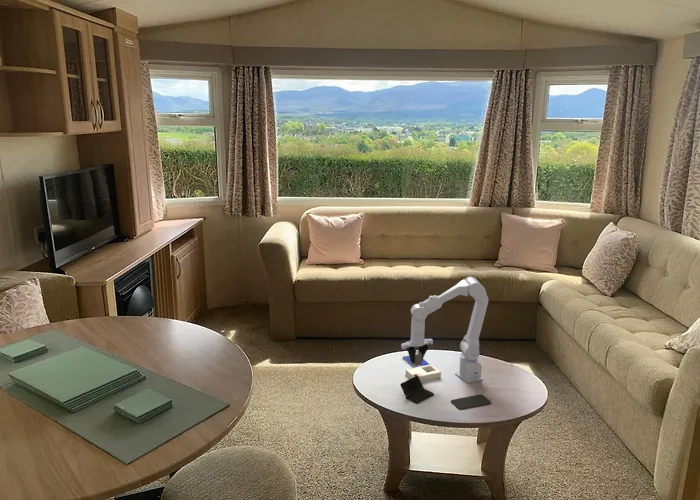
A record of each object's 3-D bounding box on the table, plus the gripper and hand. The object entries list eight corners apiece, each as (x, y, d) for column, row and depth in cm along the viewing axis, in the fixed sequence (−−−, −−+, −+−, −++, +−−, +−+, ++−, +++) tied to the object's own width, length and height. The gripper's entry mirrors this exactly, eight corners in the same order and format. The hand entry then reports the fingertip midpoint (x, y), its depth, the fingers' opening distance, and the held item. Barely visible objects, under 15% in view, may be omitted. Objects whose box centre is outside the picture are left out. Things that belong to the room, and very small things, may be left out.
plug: (421, 366, 234) (422, 353, 232) (414, 367, 232) (415, 354, 231) (417, 363, 237) (418, 350, 235) (410, 364, 235) (411, 351, 234)
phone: (449, 400, 216) (481, 393, 222) (449, 402, 217) (481, 395, 222) (459, 409, 210) (492, 402, 215) (459, 411, 210) (492, 404, 215)
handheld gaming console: (422, 402, 212) (411, 378, 215) (408, 408, 216) (397, 384, 219) (436, 394, 221) (425, 371, 224) (422, 400, 225) (412, 377, 228)
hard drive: (402, 356, 253) (415, 368, 242) (417, 353, 256) (431, 364, 245) (402, 359, 254) (415, 371, 243) (417, 356, 257) (431, 368, 246)
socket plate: (440, 377, 236) (441, 371, 235) (414, 382, 231) (415, 376, 230) (430, 369, 243) (431, 363, 242) (405, 374, 238) (405, 368, 237)
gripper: (427, 326, 237) (426, 355, 241) (398, 331, 232) (397, 360, 235) (436, 332, 231) (434, 361, 234) (406, 337, 225) (405, 367, 229)
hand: (416, 361), depth 234 cm, fingers closed on plug, 3 cm apart
